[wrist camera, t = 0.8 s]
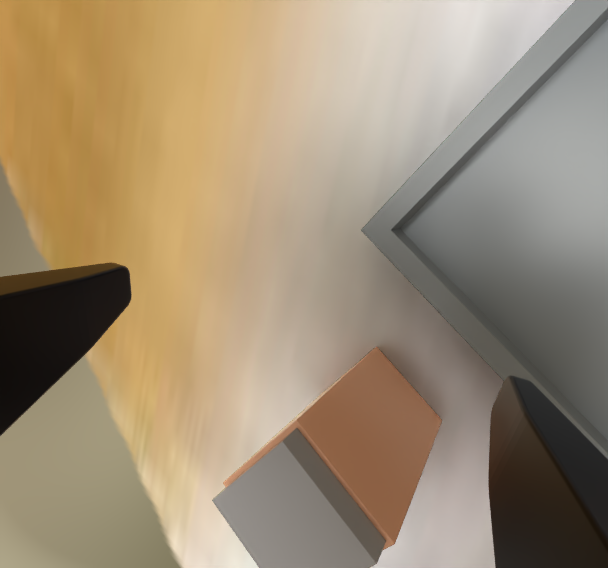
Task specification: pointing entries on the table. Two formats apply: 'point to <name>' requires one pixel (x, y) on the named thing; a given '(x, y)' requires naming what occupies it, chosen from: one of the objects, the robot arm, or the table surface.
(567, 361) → the tray
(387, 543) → the tall box
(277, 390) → the table surface
